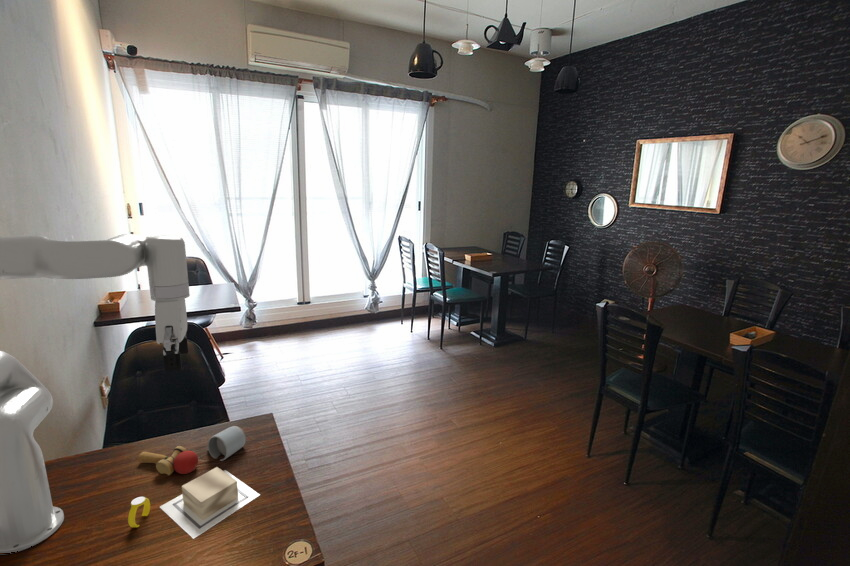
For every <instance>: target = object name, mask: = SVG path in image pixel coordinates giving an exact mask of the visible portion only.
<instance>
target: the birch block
mask: <svg viewBox="0 0 850 566" xmlns="http://www.w3.org/2000/svg"><path fill="white" fill-rule="evenodd" d="M181 492H182V494H183V503H184V504H185V505H186V506H187V507H188V508H189V509H190V510H192V511H193V512H194V513H195V514H196V515H197V516H199V517H200V518H201V519H202V520H204V519H206V518H207V517H209V516H211V515H212V514H214V513H215V512H217V511H218V510H220V509H222V508H223V507H225V506H226V505H228V504H229V503H231V502H233V501H234V500H236V499H237V498H238V489H237V481H236V480H235V479H233V478H232V477H231V476H229V475H228V474H226V473H225V472H224V470H222V469H221V468H219V467H218V466H216V467H214V468H212V469H211V470H208V471H206V472H205V473H202V474H201V475H199V476H198V477H196V478H194V479H192V480H190V481H188V482H187V483H184V484H183V485H181Z"/></svg>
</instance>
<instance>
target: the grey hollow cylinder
mask: <svg viewBox="0 0 850 566" xmlns="http://www.w3.org/2000/svg"><path fill="white" fill-rule="evenodd" d="M207 441H208V442H207V450H208V453H209V454H210V456H211V457H212V458H213V459H218V457H219V456H221V455H223V456H224V457H223V458H220V459H219V462H220V461H221V462H223V461H225V460H226V459H228V458H229V457H231V456H232V455H233V454H235V453H237V452H238V451H239V450H241V449H242V448H243V447H244V446H245V445H246V442H247V436H246V432H245V431H244V429H242V428H241V427H240V426H237V425H232V426H229V427H227V428H225V429H224V430H222V431H220V432H217V433H216V434H214V435H212V436H211V437H210V438H208V440H207Z"/></svg>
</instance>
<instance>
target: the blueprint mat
mask: <svg viewBox="0 0 850 566" xmlns="http://www.w3.org/2000/svg"><path fill="white" fill-rule="evenodd" d="M223 471H224V472H225V473H226V474H228V475H229V476H231V477H232V478H233V479H235V480H236V481H237V489H238V498H237V499H236V500H234V501H233V502H231V503H229V504H228V505H226V506H225V507H223V508H222V509H220V510H218V511H217V512H215V513H214V514H212V515H211V516H209V517H207V518H206V519H204V520H202V519H201V518H200V517H199V516H197V515H196V514H195V513H194V512H193V511H192V510H190V509H189V508H188V507H187V506H186V505H185V504H184V503H183V494H180V495H178V496H177V497H174V498H173V499H171V500H169V501H167V502H166V503H164V504H161V505H160V506H159V508H160V509H161V510H162V512H164V513H165V514H166V515H167V516H168V517H170V518H171V519H172V520H173V521H174V522H175V523H176V525H178V527H180V528H181V529H182V530H183V531H184V532H185V533H187V535H189V537H191V538H192V539H193V540H195V539H196V538H198V537H199V536H200V535H202V534H203V533H205V532H206V531H208V530H210V529H211V528H213V527H214V526H215V525H217V524H219V523H221V522H222V521H223V520H225V519H226V518H228V517H229V516H232V514H234V513H236V512H237V511H238V510H240V509H241V508H243V507H244V506H246V505H248V504H249V503H250V502H252V501H253V500H255V499H257V498H258V497H259V496H261V494H260V493H259V492H257V491H256V490H254V489H253V488H251V487H250V486H249V485H247V484H246V483H245V482H243V481H242V480H240V478H238V477H236V476H235V475H233V474H232V473H230V472H229V471H228V470H226V469H224V470H223Z"/></svg>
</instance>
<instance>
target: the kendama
mask: <svg viewBox="0 0 850 566" xmlns="http://www.w3.org/2000/svg"><path fill="white" fill-rule="evenodd" d="M137 461H138V462H139V463H140V464H144V463H145V464H146V463H147V464H155V468H156V470H157V471H158V473H160V474H161V475H163V474H165V475H167V476H171V475H173V473H174V472H176V473H177V474H181V475H187V474H191V473H192V472H193V471H195V470H196V468H197V466H198V464H199V457H198V454H197V453H196V452H194V451H193V450H187V448H186V447H184V446H181V445H178V446H176V447H175V448H173V451H172V454H171V455H170V456H167V455H165V454H160V453H155V452H149V451H142V452H141V453H139V455H138V459H137Z"/></svg>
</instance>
